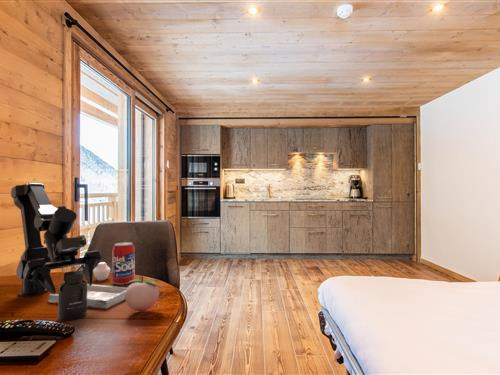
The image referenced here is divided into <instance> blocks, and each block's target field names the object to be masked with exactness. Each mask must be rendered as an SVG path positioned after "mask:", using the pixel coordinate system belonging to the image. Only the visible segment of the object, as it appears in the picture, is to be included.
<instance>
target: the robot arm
mask: <svg viewBox="0 0 500 375" xmlns="http://www.w3.org/2000/svg"><path fill="white" fill-rule="evenodd" d="M10 197H11V198H12V199H13V204H14V205H15V206H16V207H17V208H18V210H20V215H21V216H20V217H21V221H22V222H21V224H22V232H23V240H24V246H25V249H24V250H23V253H22V254H21V256H20V260H19V262H18V265H17V268H16V271H15V272H16V274H15V275H16V278H19V279H20V280H21V282H22V284H21V285H22V286H21V287H22V288H21V292H19V293H17V296H21V297H30V298H32V297H35V296H38V295H41V294H43V293H46V292H49V293H50V294H57V293H56V288H55V286H56V285H55V284H54V282H53V279H52V277H51V272H52V270H57V269H64V268H70V267H71V268H72V267H76V266H77V267H78V266H81V268H82V271H83V272H84V278H85V281H86V283H87V284H89V285H90V286H91V285H92V284H93V277H94V273H93V270H94V269H95V268H96V267H97V265H98V263H100V261H101V260H102V258H103V255H102V253H101V251H100V250H92V251H85V253H84V255H83V257H77V258H76V256H78V254H79V250H80V249H81V248H84V247H85V246H86V245H87V244H88V243H87V238H86V236H85V235H84V234H82V235H77V236H75V237H74V236H73V237H68V234H69V233H71V231H72V229H73V227H74V224H75V222H76V220H77V217H78V216H77V215H78V214H77V213H76V212H75V211H74V210H71V209H69V208H67V207H66V205H63V206H61V205H58V206H57V207H55V206H54V205H53V204H52V202H51V200H50V198H49V196H48V194H47V192H46V191H45V185H44V184H43V183H42V182H41V183H40V182H27V183H24V184H18V185H17V184H16V185H15V186H13V187H12V188H11V190H10ZM41 232H44V233H43V243H42V237H41ZM43 244H45V245H46V246H44V245H43Z"/></svg>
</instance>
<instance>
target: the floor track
mask: <svg viewBox="0 0 500 375" xmlns="http://www.w3.org/2000/svg"><path fill="white" fill-rule="evenodd" d="M127 288H128V286H127V287H126V286H118V285H115V286H114V285H103V284H93V283H92V285H91V286H90V285H89V284H88V283H87V308H97V309H104V310H106V309H109V308H111V307H113V306H115V305H117V304H119V303H121V302H123V301H126V299H125V293H126V290H127ZM58 297H59V293H55V294H52V293H50V294H48V303H53V304H58Z"/></svg>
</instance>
